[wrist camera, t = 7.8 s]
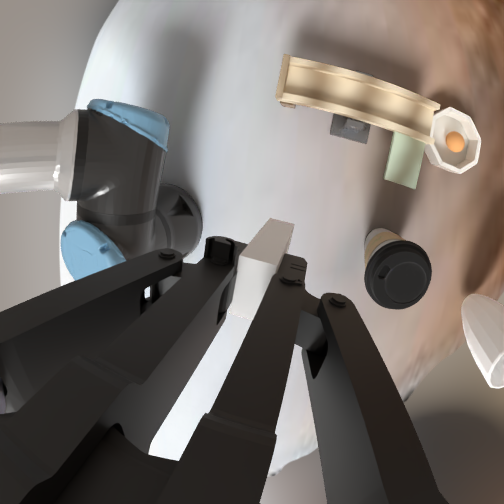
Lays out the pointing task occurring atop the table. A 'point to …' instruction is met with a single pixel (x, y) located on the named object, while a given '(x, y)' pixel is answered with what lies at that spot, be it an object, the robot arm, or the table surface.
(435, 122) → the bowl
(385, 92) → the lever
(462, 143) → the ball
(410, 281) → the coffee cup
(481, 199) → the table surface
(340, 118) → the fulcrum
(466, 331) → the cup
